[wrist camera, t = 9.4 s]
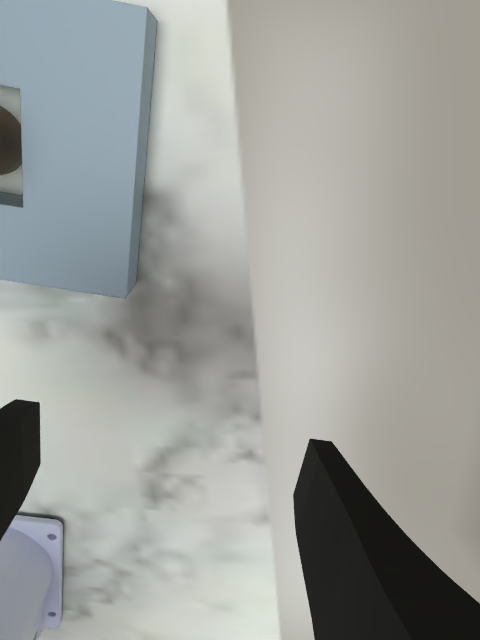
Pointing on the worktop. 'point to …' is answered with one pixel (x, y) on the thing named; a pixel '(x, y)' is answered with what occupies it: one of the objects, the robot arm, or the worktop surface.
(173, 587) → the worktop surface
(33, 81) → the hole plate
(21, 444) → the robot arm
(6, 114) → the walnut pin
